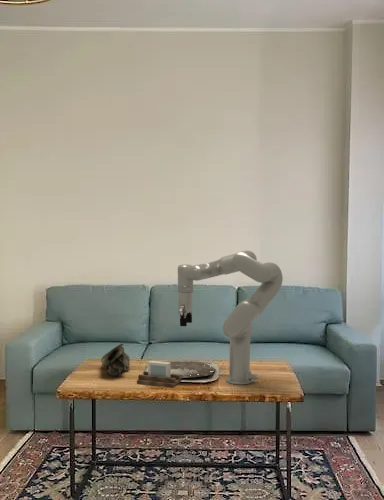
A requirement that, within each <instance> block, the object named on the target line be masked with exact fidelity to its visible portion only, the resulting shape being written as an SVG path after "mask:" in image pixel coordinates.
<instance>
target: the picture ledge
mask: <svg viewBox="0 0 384 500" xmlns="http://www.w3.org/2000/svg"><path fill="white" fill-rule="evenodd" d="M180 375H181V374H179V373H178V374H176V373H171V378H169V377H159V376H149V375H148V371H147V370H146V371H145V370H144V371H143V373H142V374H138V377H137V380H136V384H137V385H146V386H153V387H154V386H155V387H165V388H175V387H176V386H177V385H179V384H180V383H181V382H182V378H180ZM180 379H181V380H180Z"/></svg>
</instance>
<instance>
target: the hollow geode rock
mask: <svg viewBox="0 0 384 500" xmlns="http://www.w3.org/2000/svg"><path fill="white" fill-rule="evenodd" d="M123 345H124V343H120V344H119V345H117V346H115V347H114V348H112V349H111V350H109V351H108V352H107V353H105V354H104V355H103V356H102V357H101V359H100V360H101V361H100V363H101V367H106V369H107V370H106V371H107V373H108V375H110V376H112V377H114V378H119V377H120V376H122V375H123V374H125V371H127V370H129V369H130V366H131V363H130V361H131V359H130V356H129V355H128V354H127V352H125V348H124V347H123Z"/></svg>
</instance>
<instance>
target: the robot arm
mask: <svg viewBox="0 0 384 500" xmlns="http://www.w3.org/2000/svg"><path fill="white" fill-rule="evenodd" d="M257 259H258V258H257V256H256V254H255V253H254V252H253V251H251V250H244V251H243V250H241V251H238V252H236V253H232V254H229V255H225V256H222V257H221V258H219V259H217V260H214V261H210V262H206V263H200V264H195V265H193V264H179V265H178V266H177V293H178V298H177V299H178V300H177V301H178V302H177V305H178V306H177V313H178V314H179V326H180V327H187V325H188V324H189V323H190V324H191V323H193V315H192V314H193V312H192V311H193V293H194V281H197V282H198V281H203V280H206V279H211V278H215V277H219V276H223V275H230V274H234V273H237V272H240V273H242V274H243V275H245V276H246V277H248V278H250V279H252V280H253V281H255V282H257V283H260V285H259V286H258V287H257V288H256V289H255V291H254V292H253V293H252V295H250V297H248V298H247V299H245V300H242V301H240V302H239V303H238V305H236V307H235V308H234V309H232V311H231V312H230V314H229V315H228V317H227V318H226V319H225V320H224V322H223V325H222V332H223V334H224V335H225V336H226V337H227V338H229V376H226V378H225V380H226V382H227V383H228V384H232V385H239V386H240V385H243V386H244V385H248V384H252V383H253V382H254V380H259V375H258V374H253V373H252V370H251V367H250V366H251V337H252V331H253V330H252V329H253V326H252V324H253V323H252V321H253V320H255V319H257V318H259V317H260V316H261V315H262V314H263V313H264V311H265V310H266V308H267V307H268V306H269V305H270V304H271V302H272V301H273V299H274V298H275V297H276V296H277V294H278V293H279V292H280V289H282V288H281V287H282V284H283V279H284V278H283V273H282V269H280V266H279V265H277V263H275V262H265V263H262V262H261V261H259V260H257Z"/></svg>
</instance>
